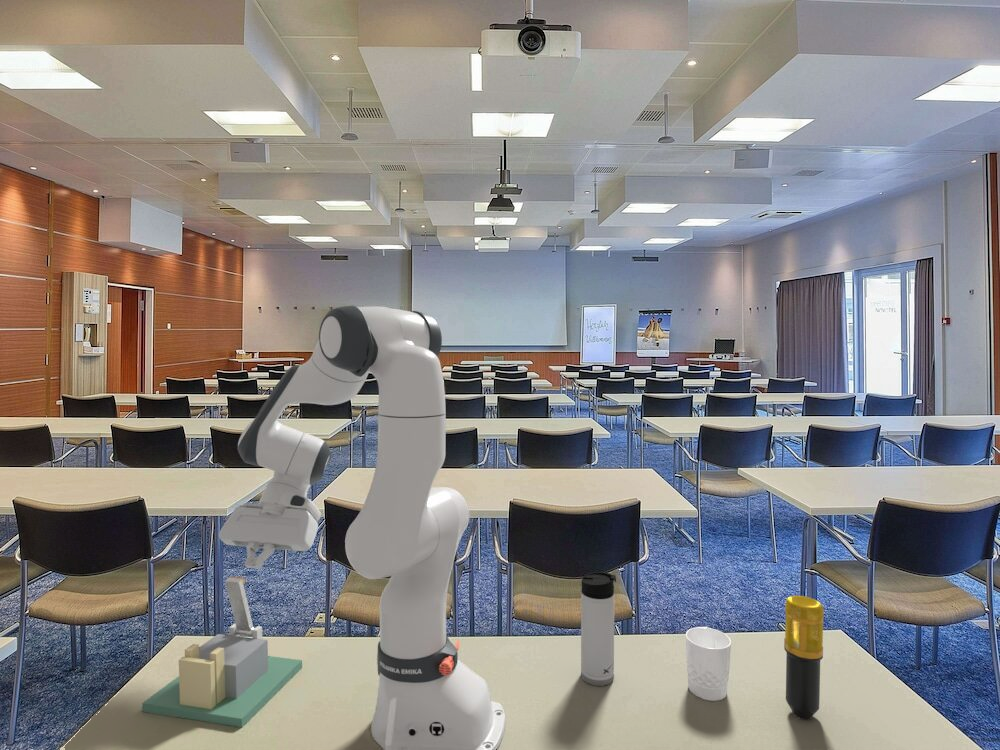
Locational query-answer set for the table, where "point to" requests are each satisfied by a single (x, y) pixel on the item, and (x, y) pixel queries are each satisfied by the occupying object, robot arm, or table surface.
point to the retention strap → (239, 606)
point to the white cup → (708, 662)
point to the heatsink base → (224, 680)
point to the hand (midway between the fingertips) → (252, 566)
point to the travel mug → (597, 628)
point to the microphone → (803, 654)
